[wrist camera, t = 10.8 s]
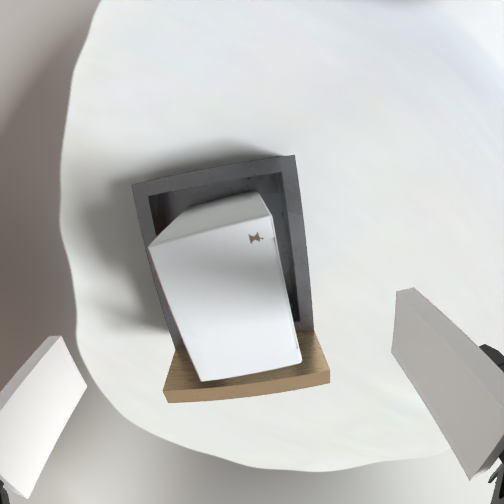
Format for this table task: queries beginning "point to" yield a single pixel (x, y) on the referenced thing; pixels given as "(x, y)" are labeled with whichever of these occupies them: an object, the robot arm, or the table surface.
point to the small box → (227, 287)
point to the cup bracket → (291, 256)
